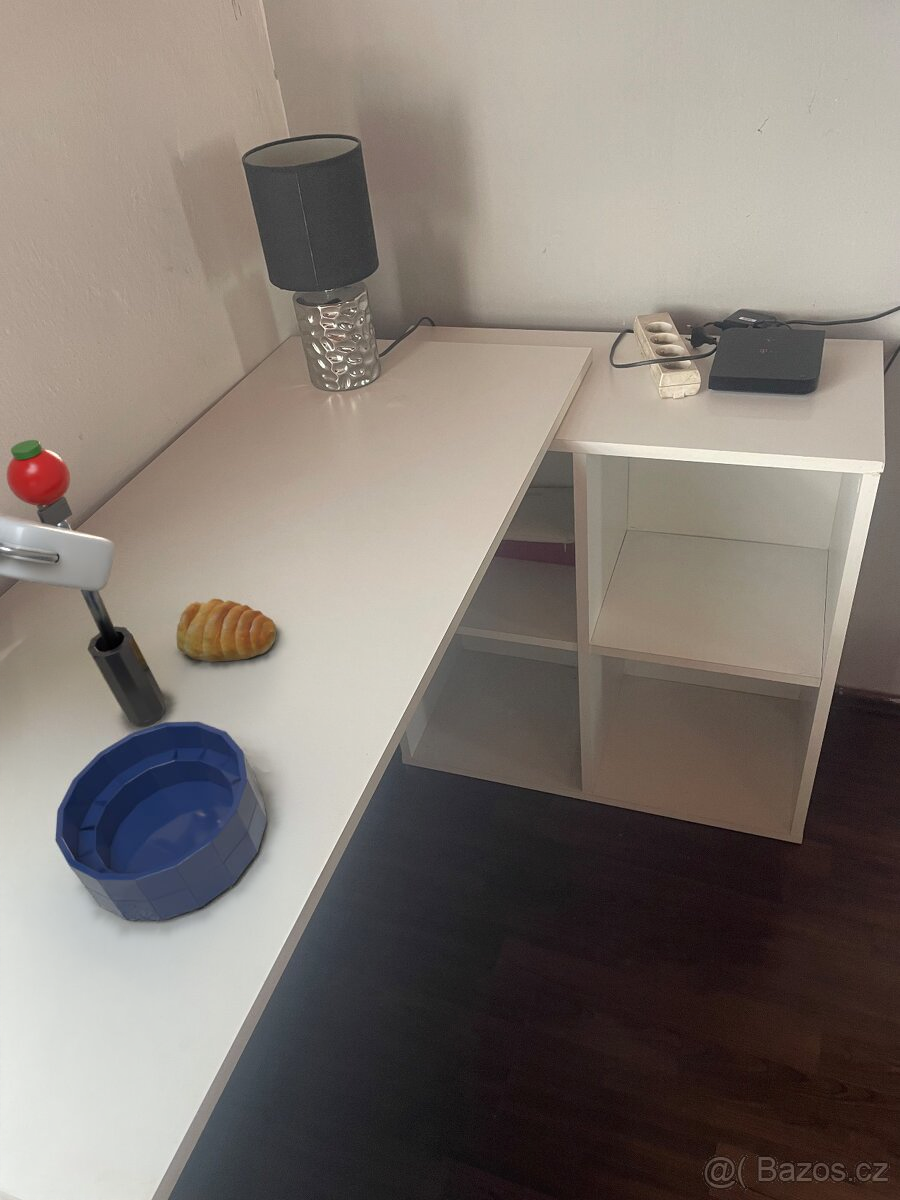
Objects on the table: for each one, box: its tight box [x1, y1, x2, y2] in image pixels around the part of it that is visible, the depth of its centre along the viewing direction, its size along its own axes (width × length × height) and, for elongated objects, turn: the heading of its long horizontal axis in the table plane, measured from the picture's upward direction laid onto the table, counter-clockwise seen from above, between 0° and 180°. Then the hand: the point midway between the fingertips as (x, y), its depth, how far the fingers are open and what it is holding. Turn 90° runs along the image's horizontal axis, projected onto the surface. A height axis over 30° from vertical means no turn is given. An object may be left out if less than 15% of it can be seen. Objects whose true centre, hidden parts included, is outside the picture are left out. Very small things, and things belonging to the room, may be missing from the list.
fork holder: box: [87, 625, 168, 728], centre depth 76 cm, size 4×4×9 cm
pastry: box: [176, 598, 277, 663], centre depth 83 cm, size 9×7×4 cm
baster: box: [6, 439, 121, 651], centre depth 68 cm, size 4×4×19 cm
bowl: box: [55, 721, 268, 921], centre depth 66 cm, size 14×14×6 cm
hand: (71, 551), depth 67 cm, fingers closed on baster
